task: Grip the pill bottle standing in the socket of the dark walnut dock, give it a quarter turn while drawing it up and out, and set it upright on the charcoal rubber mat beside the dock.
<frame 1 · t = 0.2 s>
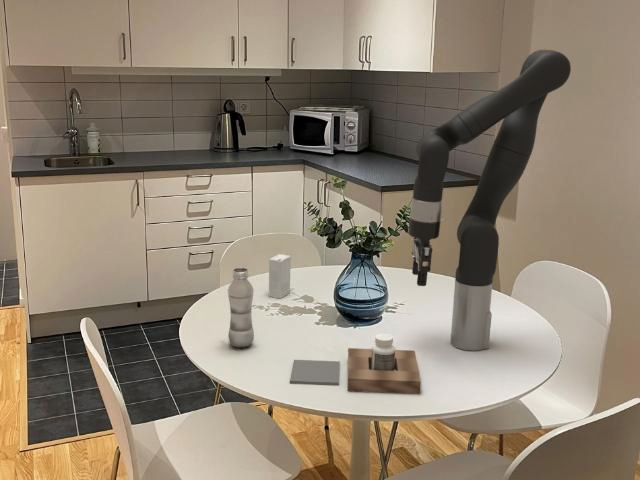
hand: (418, 279, 177), 17 cm above the table, tool pointing down, fingers open, 8 cm apart
plastic bottle: (241, 345, 179), on the table
charcoal mat: (315, 373, 165), on the table
walnut dock: (382, 375, 164), on the table
pill bottle: (382, 376, 164), resting in walnut dock
skincare box: (279, 295, 214), on the table
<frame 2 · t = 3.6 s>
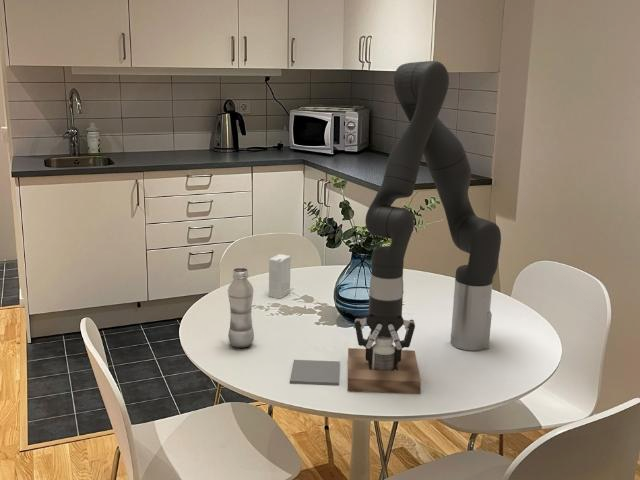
hand: (382, 361, 163), 3 cm above the table, tool pointing down, fingers closed on pill bottle, 5 cm apart
pill bottle: (382, 376, 164), resting in walnut dock, touching gripper
everything else where it was.
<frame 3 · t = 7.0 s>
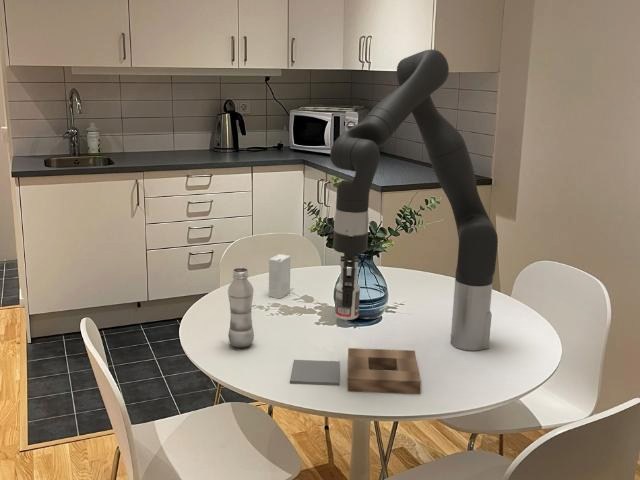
hand: (347, 301, 160), 18 cm above the table, tool pointing down, fingers closed on pill bottle, 5 cm apart
pill bottle: (346, 316, 161), point 14 cm above the table, touching gripper
everything else where it was.
when the fingers open (6 cm above the table, at t = 10.6 s): pill bottle drops 1 cm, resting on charcoal mat.
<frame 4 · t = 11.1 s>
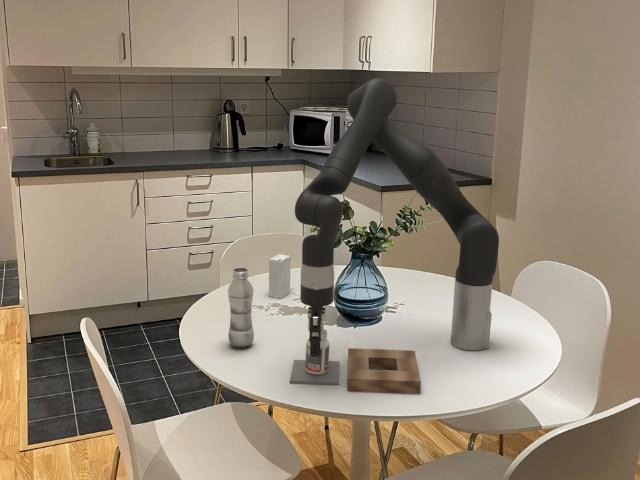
hand: (316, 348, 163), 6 cm above the table, tool pointing down, fingers open, 8 cm apart
pill bottle: (316, 371, 165), resting on charcoal mat
everything else where it was.
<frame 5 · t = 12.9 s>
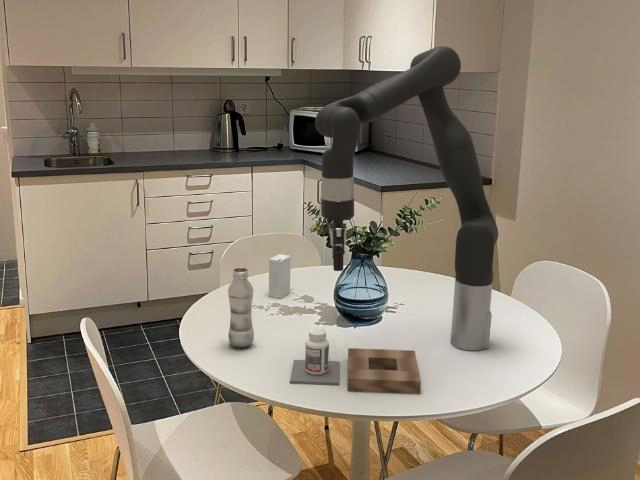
hand: (337, 264, 164), 25 cm above the table, tool pointing down, fingers open, 8 cm apart
nothing on the table moved.
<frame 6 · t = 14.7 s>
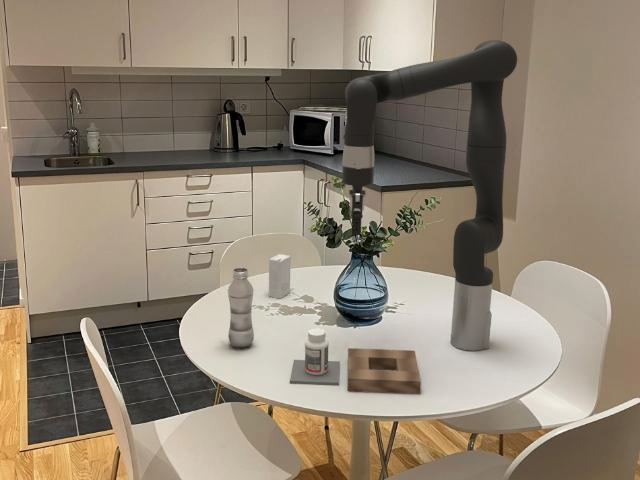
hand: (356, 229, 174), 30 cm above the table, tool pointing down, fingers open, 8 cm apart
nothing on the table moved.
at the end: pill bottle inside the target area on the charcoal mat (0.3 cm from its centre), point 0.4 cm above the charcoal mat's base; pill bottle tilted 1°; the gripper is holding nothing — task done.
